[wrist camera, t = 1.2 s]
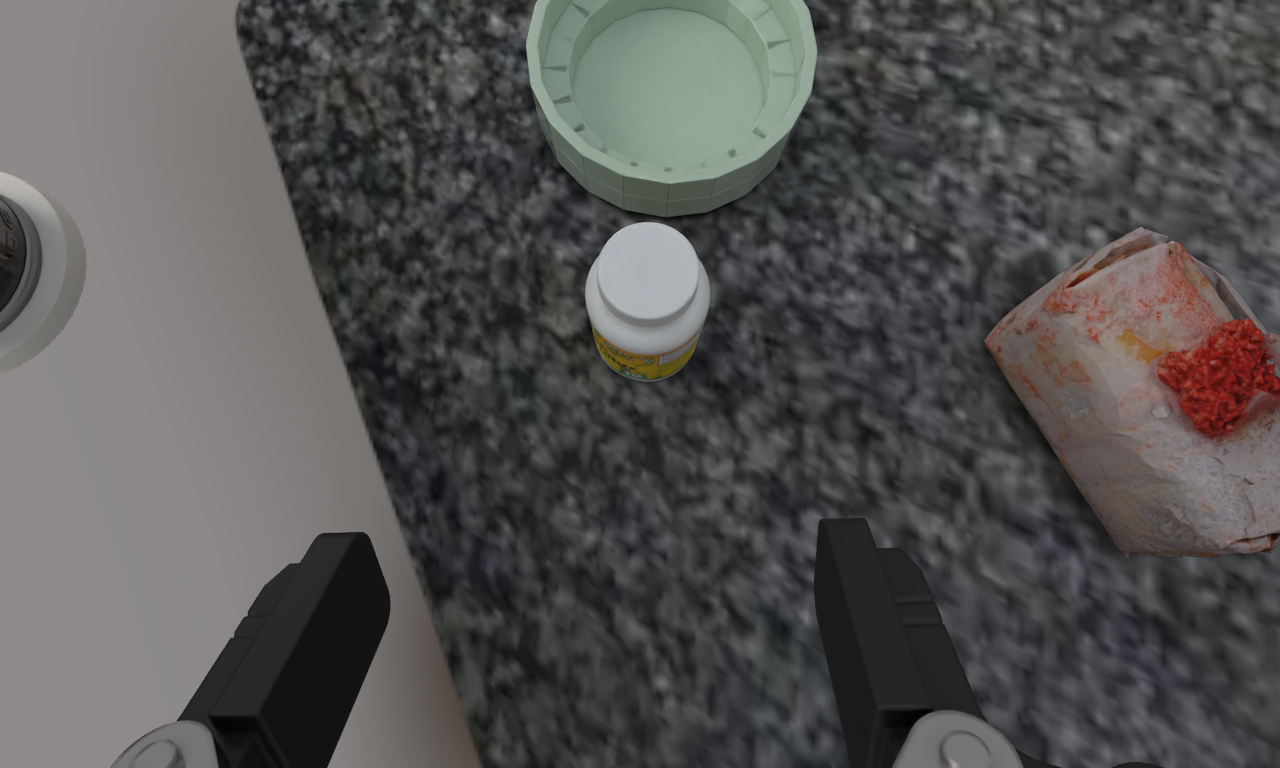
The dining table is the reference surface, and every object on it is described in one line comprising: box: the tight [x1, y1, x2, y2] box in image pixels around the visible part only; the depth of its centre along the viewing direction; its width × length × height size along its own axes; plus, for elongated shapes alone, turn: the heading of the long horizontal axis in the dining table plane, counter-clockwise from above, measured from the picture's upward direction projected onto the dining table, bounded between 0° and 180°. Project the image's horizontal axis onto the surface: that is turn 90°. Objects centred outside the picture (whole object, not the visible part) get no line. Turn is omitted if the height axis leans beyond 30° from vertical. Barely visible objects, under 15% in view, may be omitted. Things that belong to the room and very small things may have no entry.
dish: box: [526, 0, 818, 217], centre depth 37 cm, size 14×14×4 cm
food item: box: [984, 227, 1280, 558], centre depth 31 cm, size 14×8×10 cm, turn 29°
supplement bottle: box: [585, 222, 710, 382], centre depth 32 cm, size 5×5×10 cm
